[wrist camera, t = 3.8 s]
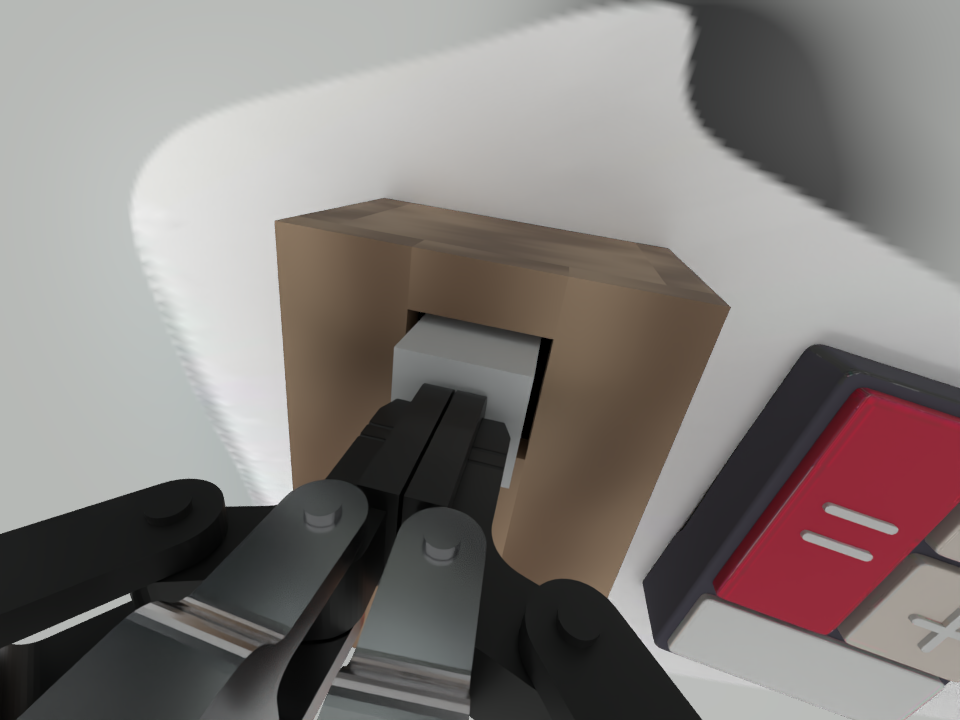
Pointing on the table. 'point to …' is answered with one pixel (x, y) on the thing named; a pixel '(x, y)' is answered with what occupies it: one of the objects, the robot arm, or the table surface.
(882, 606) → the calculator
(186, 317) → the table surface
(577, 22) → the table surface
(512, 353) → the grey plug
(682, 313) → the block
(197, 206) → the table surface
